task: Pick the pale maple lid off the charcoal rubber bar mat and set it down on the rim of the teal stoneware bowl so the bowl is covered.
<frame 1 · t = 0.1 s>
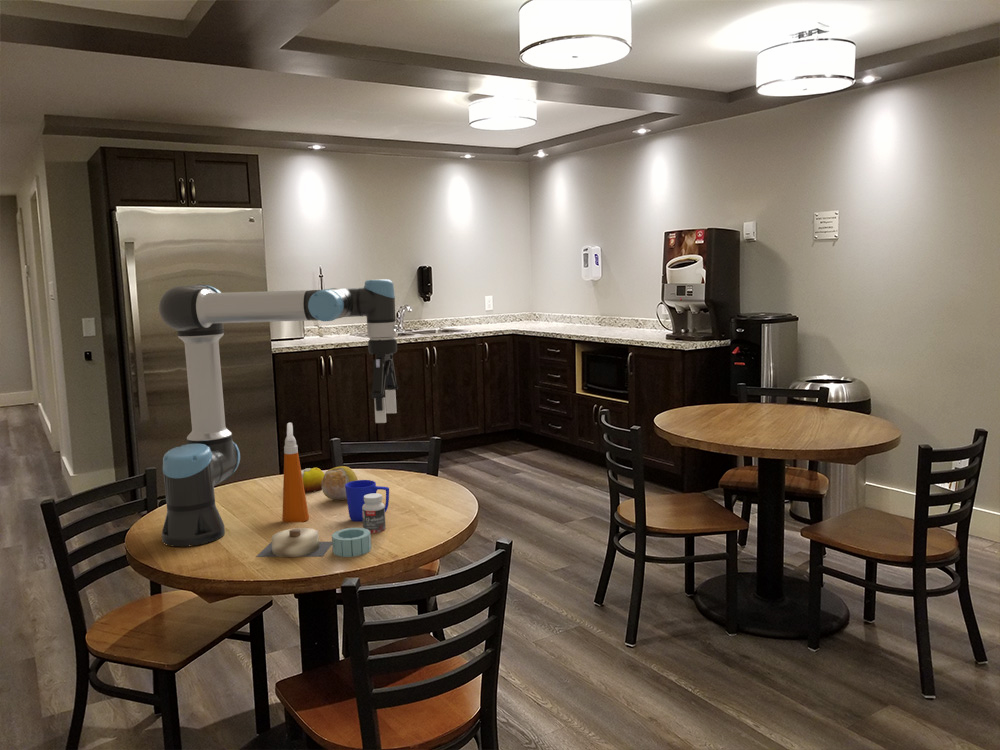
hand: (386, 417, 209), 28 cm above the table, fingers open, 13 cm apart
lid: (296, 549, 189), point 1 cm above the table, touching mat
bowl: (352, 553, 187), on the table
fruit 2: (340, 500, 232), on the table
orange squeeze bottle: (295, 518, 216), on the table
fruit: (308, 489, 246), on the table
mat: (296, 552, 189), on the table
pill bottle: (374, 533, 202), on the table
mug: (369, 520, 213), on the table
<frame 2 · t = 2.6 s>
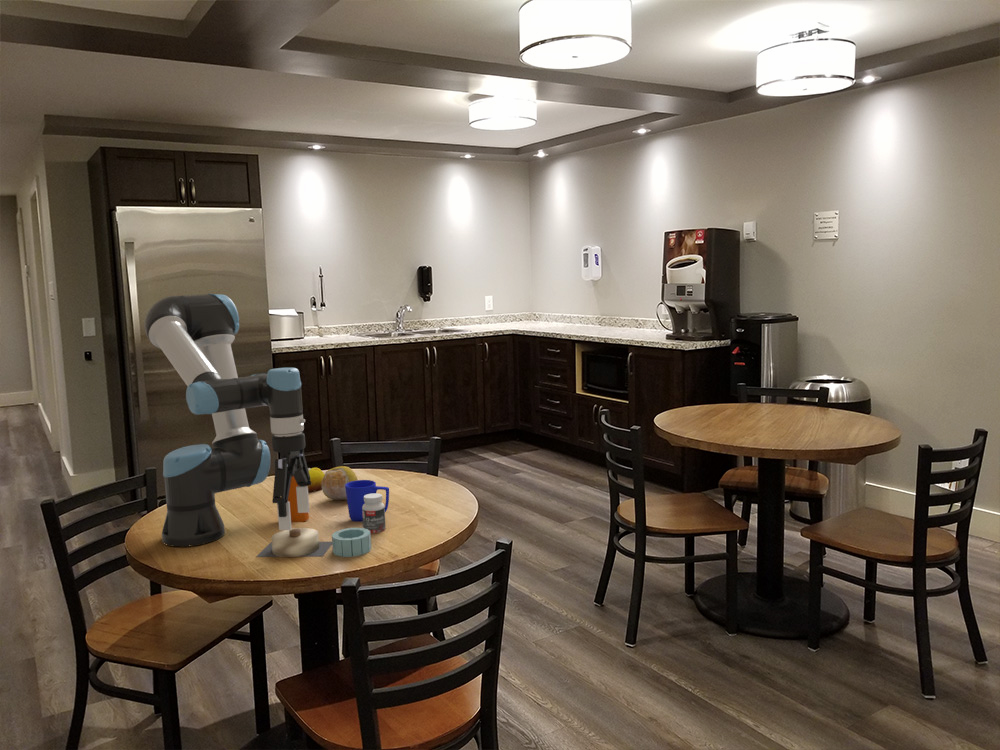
hand: (295, 520, 187), 8 cm above the table, fingers open, 13 cm apart
nothing on the table moved.
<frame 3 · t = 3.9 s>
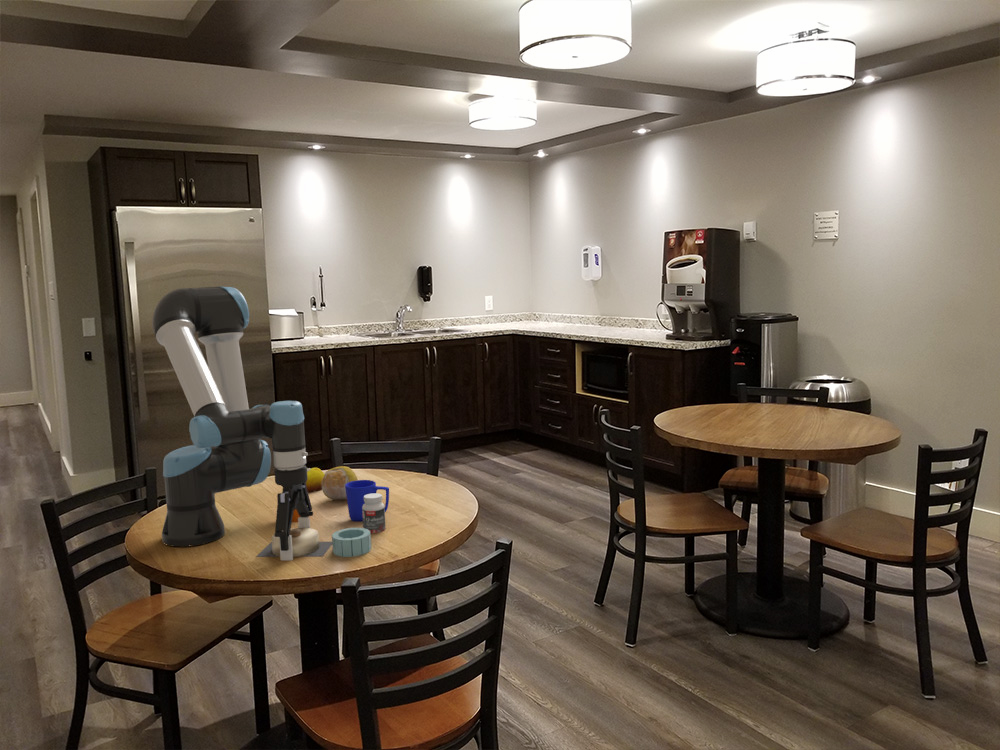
hand: (296, 552, 189), 0 cm above the table, fingers open, 13 cm apart
nothing on the table moved.
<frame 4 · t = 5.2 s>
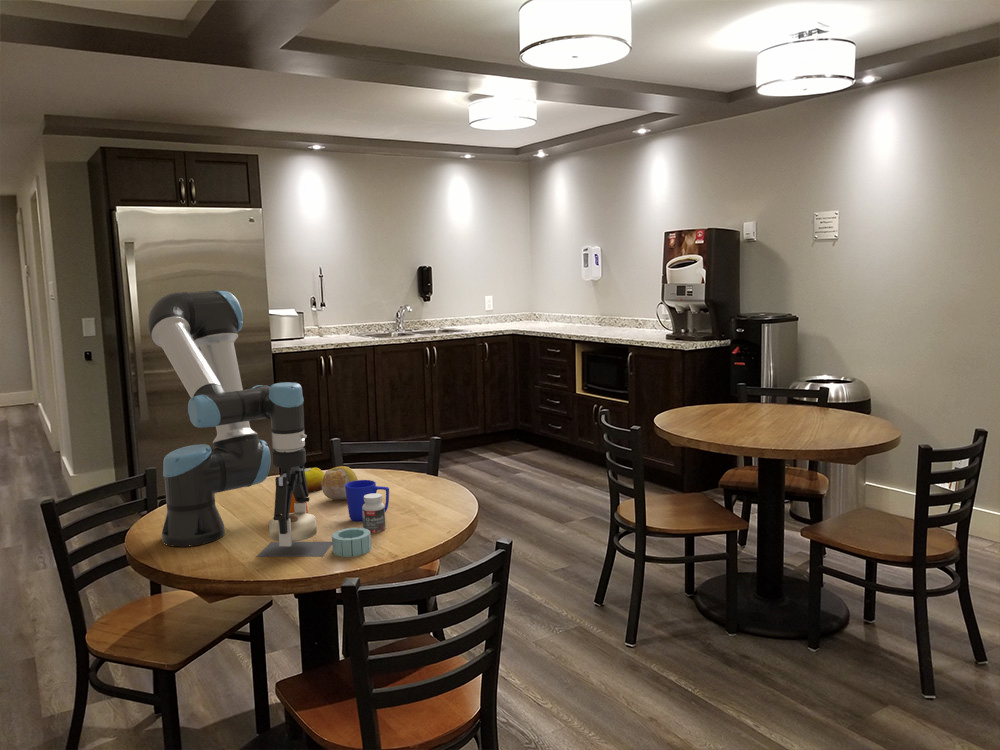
hand: (293, 536, 189), 4 cm above the table, fingers closed on lid, 11 cm apart
lid: (293, 533, 189), point 5 cm above the table, touching gripper
everything else where it was.
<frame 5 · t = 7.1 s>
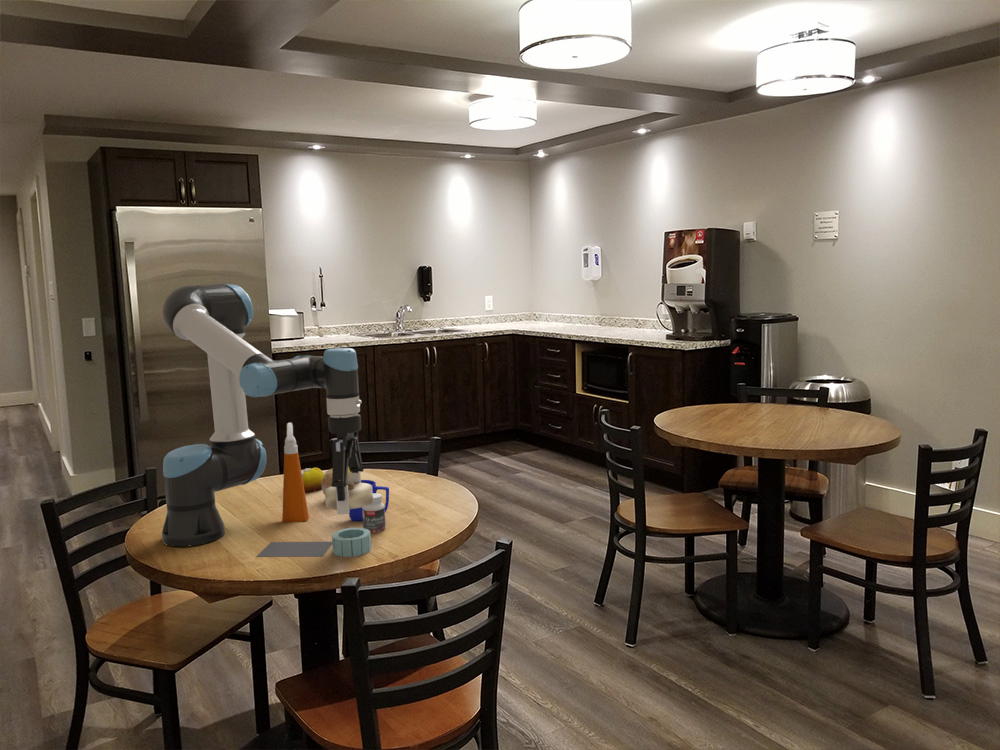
hand: (349, 506, 185), 12 cm above the table, fingers closed on lid, 11 cm apart
lid: (349, 502, 185), point 13 cm above the table, touching gripper
everything else where it was.
when the fingers open (7 cm above the table, at t = 8.9 s): lid drops 3 cm, resting on bowl.
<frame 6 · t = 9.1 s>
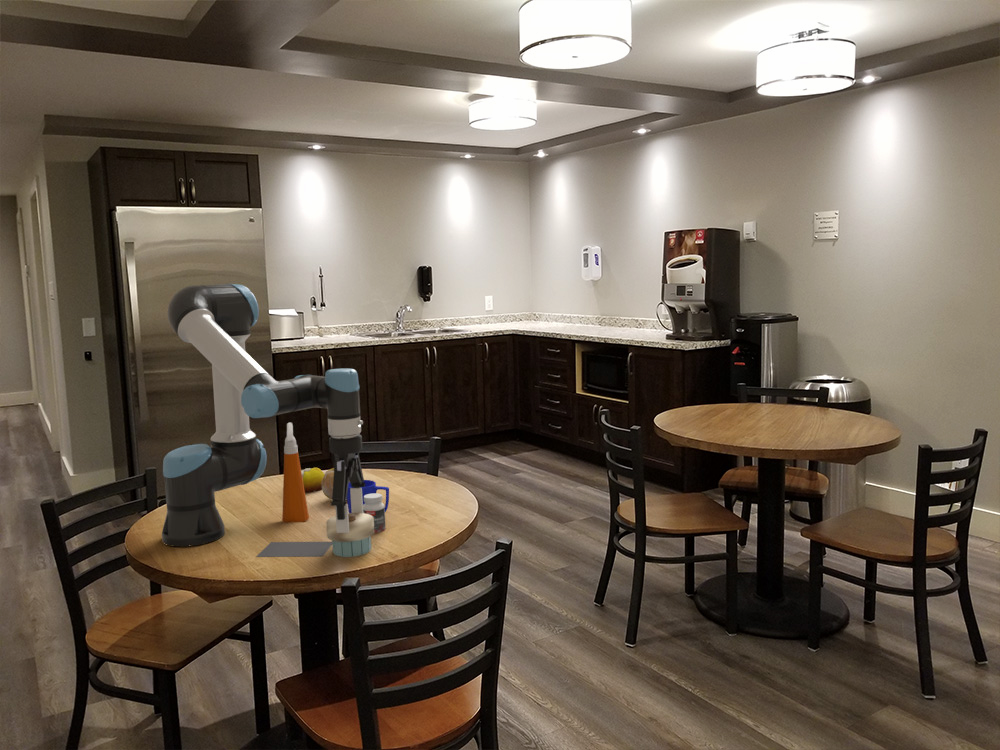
hand: (350, 522, 186), 8 cm above the table, fingers open, 13 cm apart
lid: (350, 533, 186), point 5 cm above the table, touching bowl
everything else where it was.
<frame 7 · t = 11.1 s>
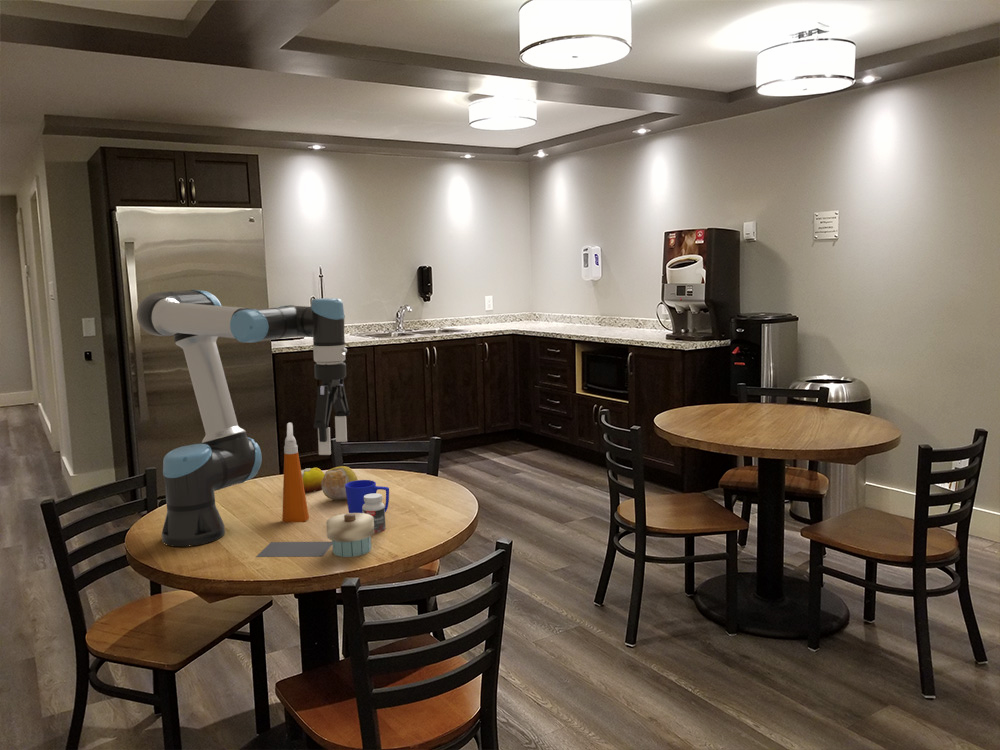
hand: (333, 447, 193), 24 cm above the table, fingers open, 13 cm apart
nothing on the table moved.
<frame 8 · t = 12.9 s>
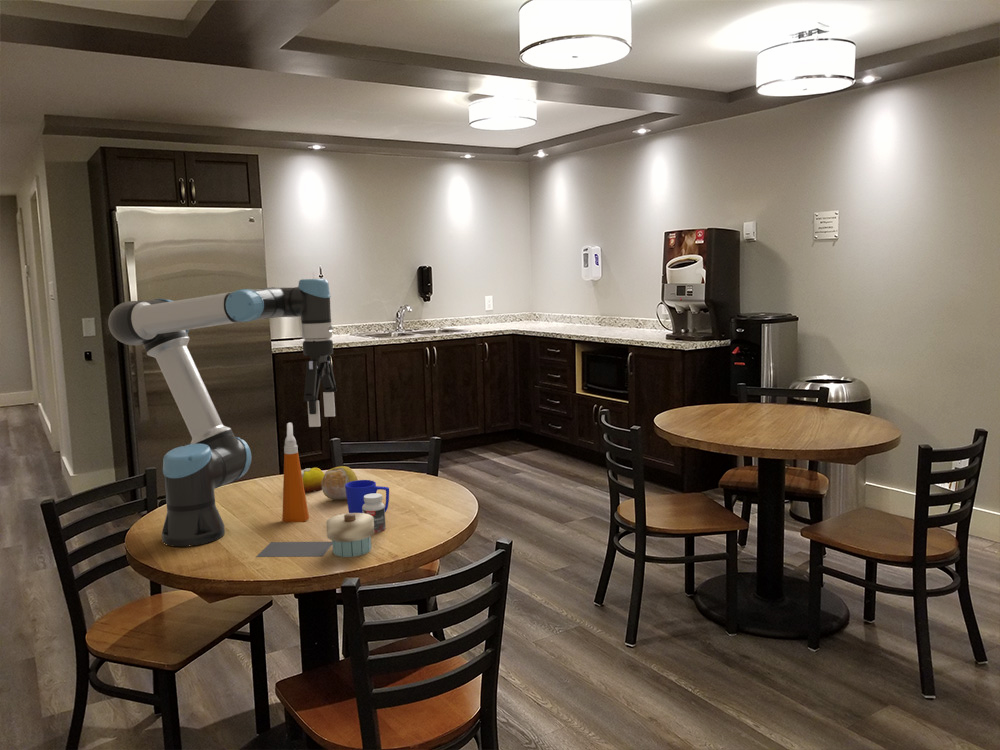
hand: (322, 421, 203), 29 cm above the table, fingers open, 13 cm apart
nothing on the table moved.
at the end: lid 0.1 cm from the bowl (horizontally); lid point 5.0 cm above the table; lid tilted 0° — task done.
